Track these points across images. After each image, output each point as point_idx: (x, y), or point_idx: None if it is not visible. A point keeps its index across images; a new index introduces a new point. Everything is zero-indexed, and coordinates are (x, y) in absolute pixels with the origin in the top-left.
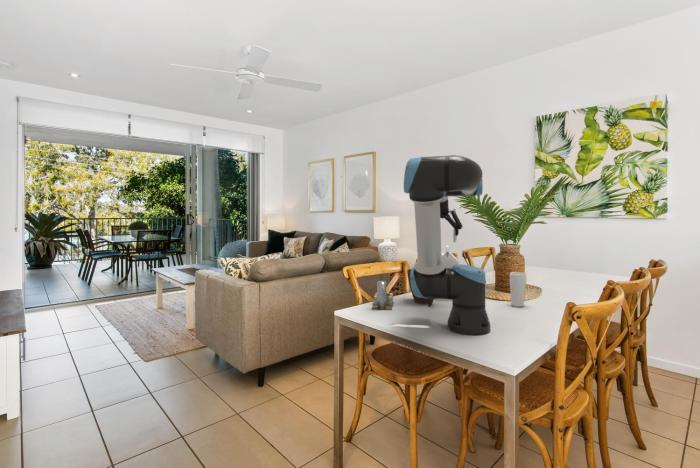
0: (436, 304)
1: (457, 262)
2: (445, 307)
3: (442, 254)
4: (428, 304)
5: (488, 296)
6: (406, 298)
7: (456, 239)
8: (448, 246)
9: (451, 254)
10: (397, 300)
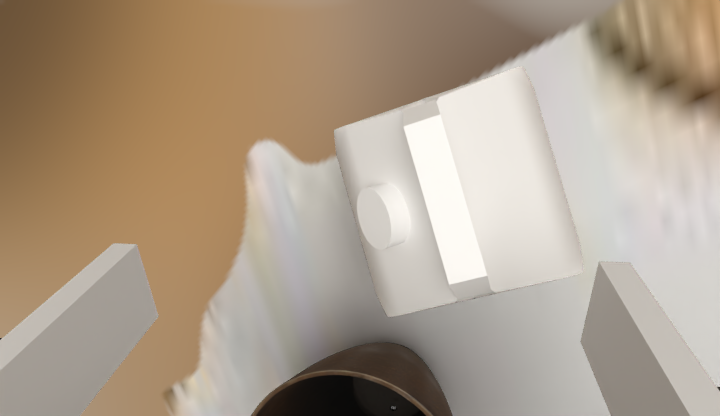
0: (449, 360)
1: (576, 274)
2: (506, 401)
3: (404, 238)
4: (423, 414)
5: (690, 47)
6: (280, 299)
7: (631, 279)
8: (475, 261)
9: (502, 217)
10: (258, 354)
